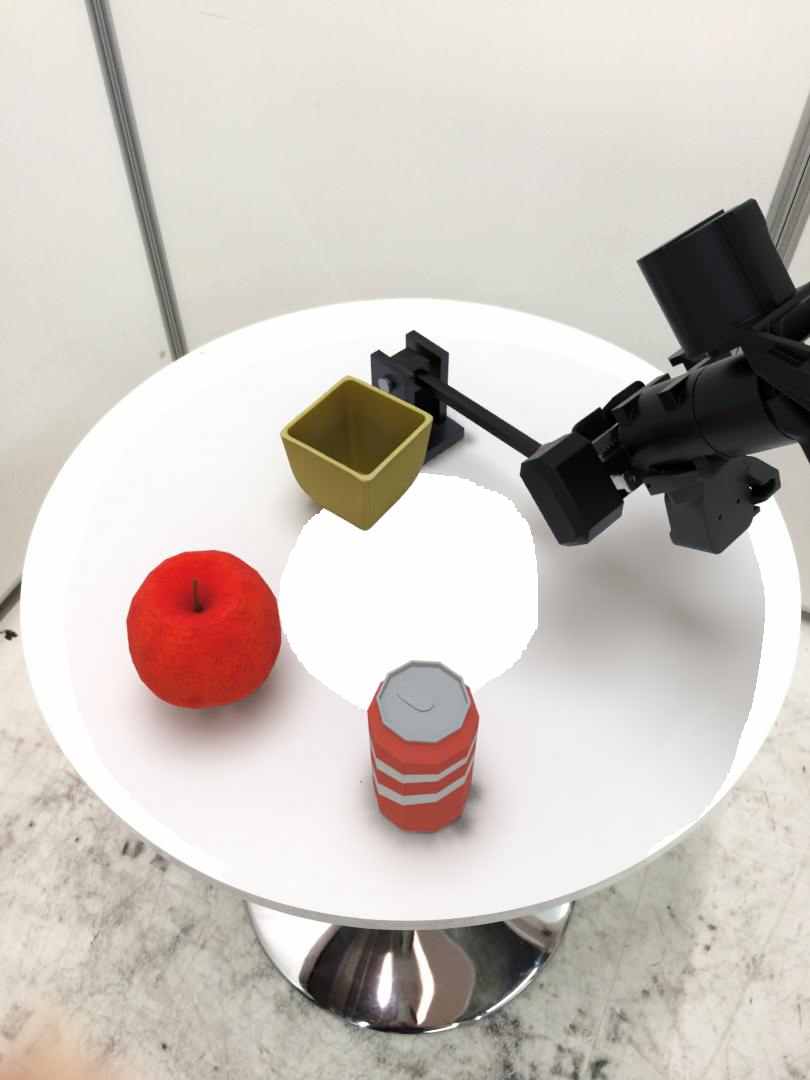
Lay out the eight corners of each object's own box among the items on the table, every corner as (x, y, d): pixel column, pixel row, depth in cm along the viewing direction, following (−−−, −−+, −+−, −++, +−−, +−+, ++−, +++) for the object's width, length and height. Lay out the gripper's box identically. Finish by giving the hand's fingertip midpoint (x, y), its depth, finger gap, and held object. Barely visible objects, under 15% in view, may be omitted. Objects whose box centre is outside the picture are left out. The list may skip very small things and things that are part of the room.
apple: (186, 771, 58) (142, 677, 49) (130, 665, 63) (82, 562, 54) (315, 699, 62) (298, 598, 52) (252, 604, 67) (227, 497, 58)
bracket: (464, 437, 79) (469, 360, 72) (416, 469, 76) (416, 392, 69) (404, 395, 82) (403, 317, 76) (356, 424, 80) (351, 346, 73)
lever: (580, 478, 67) (585, 447, 65) (553, 499, 66) (557, 468, 63) (412, 370, 77) (411, 339, 74) (385, 386, 75) (384, 356, 73)
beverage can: (413, 729, 60) (413, 633, 51) (487, 785, 57) (502, 694, 48) (354, 794, 57) (343, 704, 48) (430, 856, 54) (434, 773, 45)
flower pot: (434, 493, 74) (436, 415, 67) (372, 558, 70) (367, 481, 63) (353, 451, 78) (347, 372, 71) (289, 511, 73) (276, 432, 66)
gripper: (697, 613, 48) (534, 620, 62) (868, 451, 56) (689, 489, 70) (601, 439, 46) (455, 486, 60) (791, 297, 54) (624, 368, 68)
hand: (565, 459), depth 65 cm, fingers closed, pressing on lever
